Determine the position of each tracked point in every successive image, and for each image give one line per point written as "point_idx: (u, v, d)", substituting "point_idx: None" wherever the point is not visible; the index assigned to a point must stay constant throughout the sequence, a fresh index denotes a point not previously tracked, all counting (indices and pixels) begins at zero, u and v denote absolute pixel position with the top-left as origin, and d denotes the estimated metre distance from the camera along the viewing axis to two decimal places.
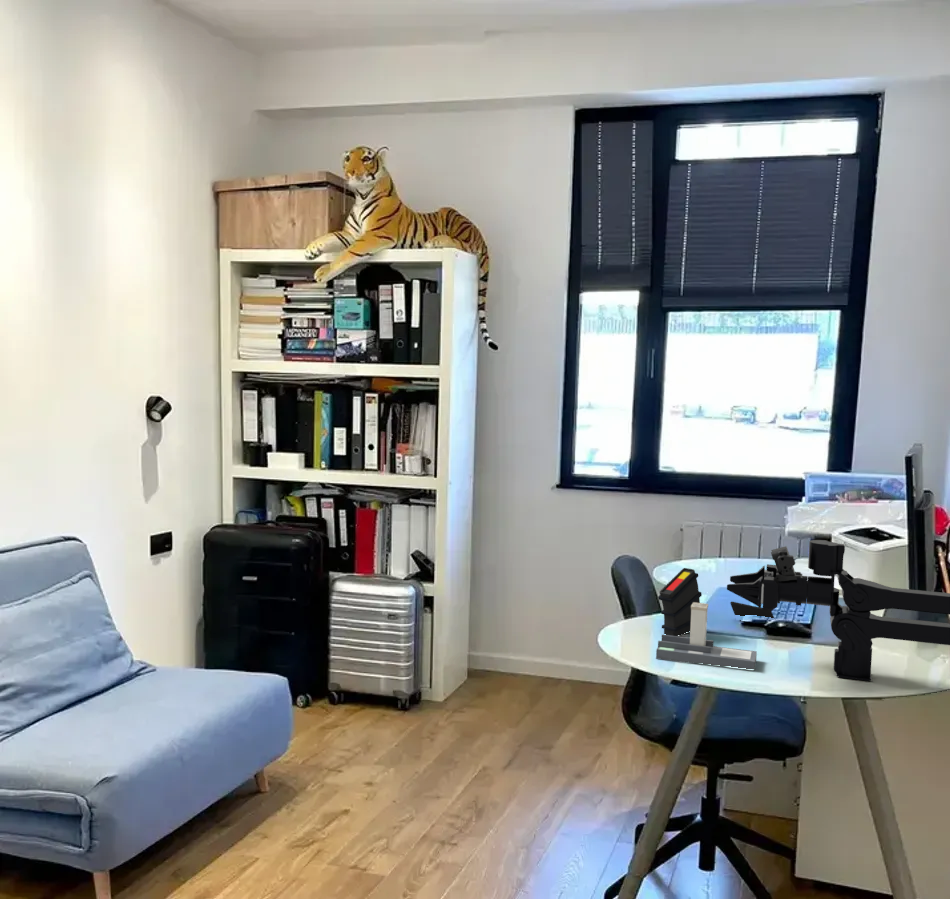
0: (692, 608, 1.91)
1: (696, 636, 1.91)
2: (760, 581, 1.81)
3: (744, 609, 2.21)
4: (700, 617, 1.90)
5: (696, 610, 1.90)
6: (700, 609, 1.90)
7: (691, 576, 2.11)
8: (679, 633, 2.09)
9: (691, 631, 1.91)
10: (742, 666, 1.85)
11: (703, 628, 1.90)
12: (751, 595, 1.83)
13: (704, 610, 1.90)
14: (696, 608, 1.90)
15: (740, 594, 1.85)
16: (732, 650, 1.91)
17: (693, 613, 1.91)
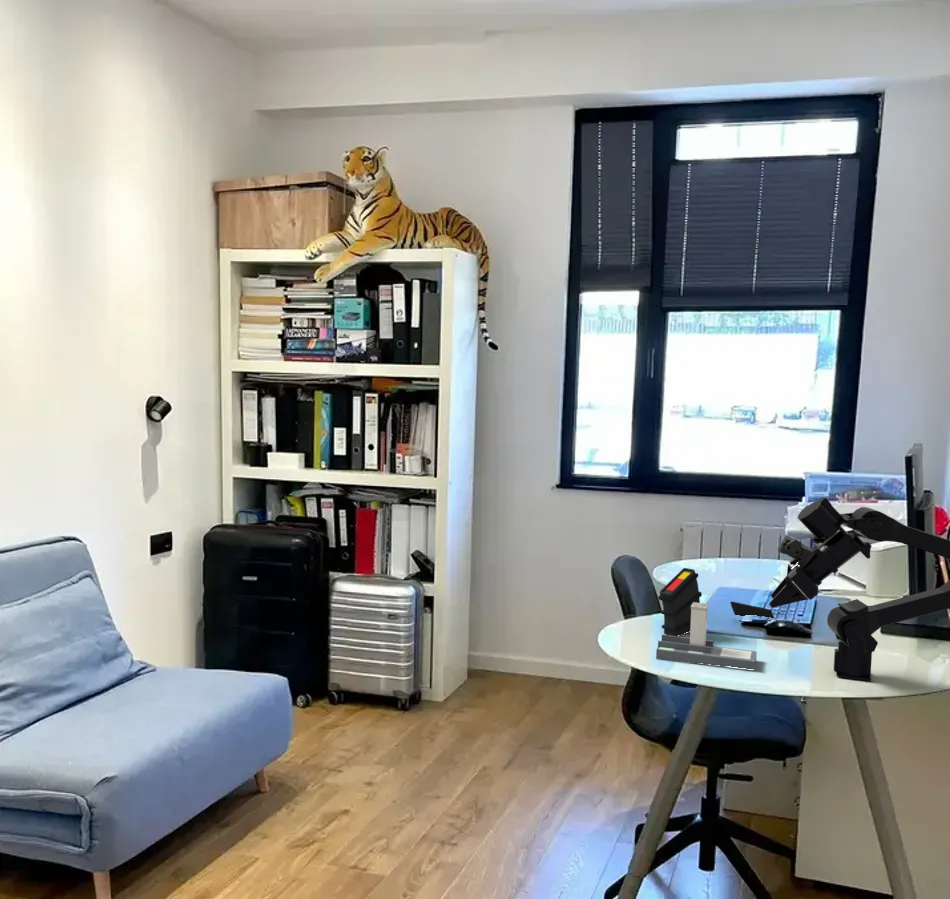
0: (692, 608, 1.91)
1: (696, 636, 1.91)
2: (788, 579, 1.79)
3: (744, 609, 2.21)
4: (700, 617, 1.90)
5: (696, 610, 1.90)
6: (700, 609, 1.90)
7: (691, 576, 2.11)
8: (679, 633, 2.09)
9: (691, 631, 1.91)
10: (742, 666, 1.85)
11: (703, 628, 1.90)
12: (793, 596, 1.80)
13: (704, 610, 1.90)
14: (696, 608, 1.90)
15: (785, 602, 1.81)
16: (732, 650, 1.91)
17: (693, 613, 1.91)
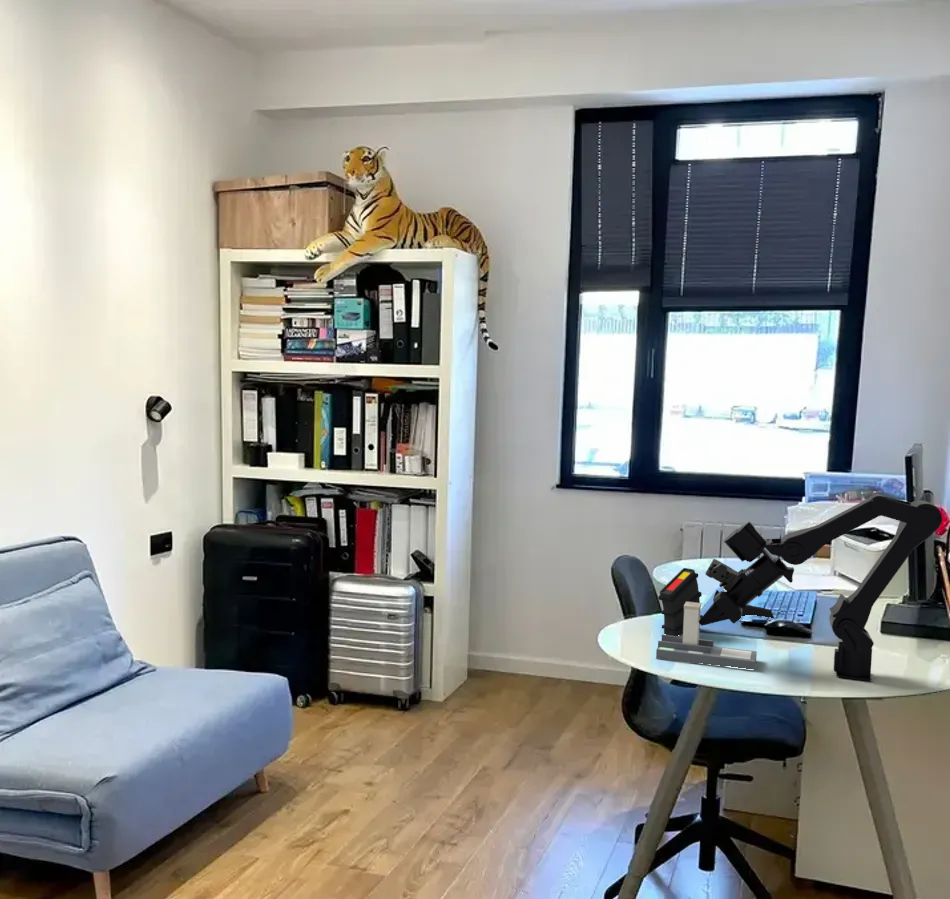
0: (685, 607, 1.91)
1: (689, 635, 1.91)
2: None
3: (744, 609, 2.21)
4: (693, 616, 1.91)
5: (689, 609, 1.91)
6: (693, 608, 1.91)
7: (691, 576, 2.11)
8: (679, 633, 2.09)
9: (684, 630, 1.92)
10: (742, 666, 1.85)
11: (696, 627, 1.91)
12: (720, 614, 1.89)
13: (697, 609, 1.90)
14: (689, 607, 1.91)
15: (713, 620, 1.90)
16: (732, 650, 1.91)
17: (686, 612, 1.91)
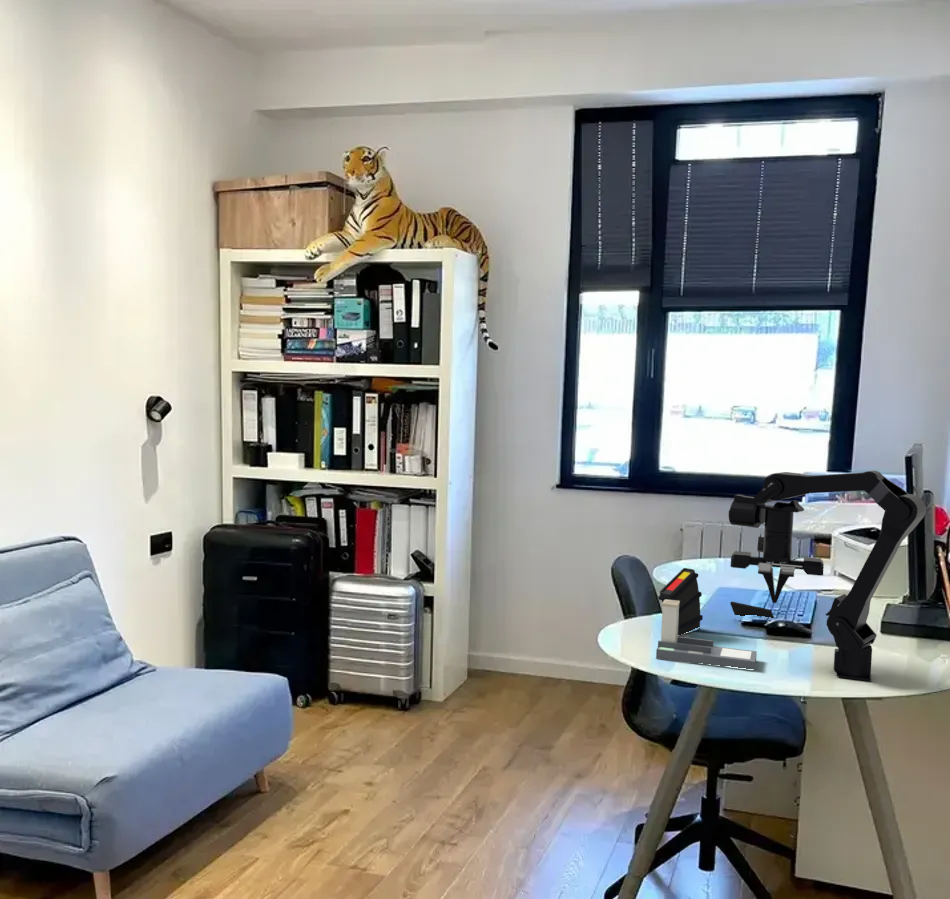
0: (663, 605, 1.93)
1: (667, 632, 1.93)
2: None
3: (744, 609, 2.22)
4: (671, 613, 1.92)
5: (667, 607, 1.92)
6: (671, 606, 1.92)
7: (691, 576, 2.11)
8: (679, 633, 2.09)
9: (662, 628, 1.93)
10: (742, 666, 1.85)
11: (674, 625, 1.92)
12: None
13: (675, 607, 1.92)
14: (667, 605, 1.92)
15: (769, 590, 1.93)
16: (732, 650, 1.91)
17: (664, 610, 1.93)
